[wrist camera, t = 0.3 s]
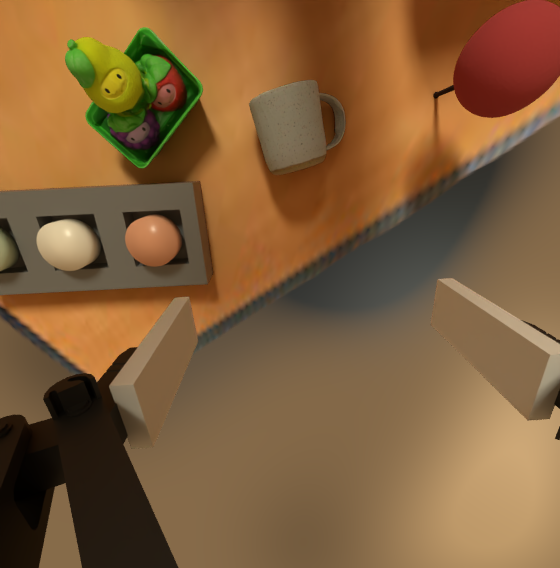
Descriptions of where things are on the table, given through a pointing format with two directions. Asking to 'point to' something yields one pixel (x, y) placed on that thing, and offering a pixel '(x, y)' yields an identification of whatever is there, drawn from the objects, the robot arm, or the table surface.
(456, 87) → the lollipop
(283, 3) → the table surface
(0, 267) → the sage button
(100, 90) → the fruit basket
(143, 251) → the terracotta button
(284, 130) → the ceramic mug
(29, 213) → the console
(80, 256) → the cream button
